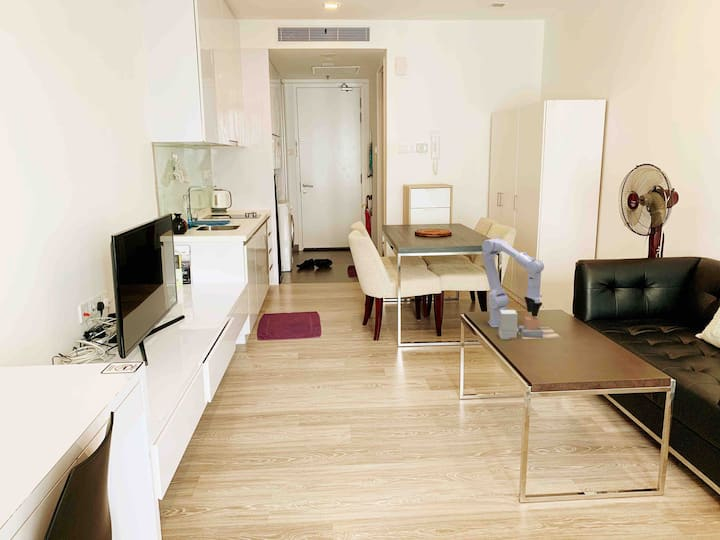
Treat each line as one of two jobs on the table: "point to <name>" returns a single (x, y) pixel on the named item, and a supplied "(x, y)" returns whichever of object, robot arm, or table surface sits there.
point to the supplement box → (508, 324)
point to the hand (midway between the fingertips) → (532, 314)
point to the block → (531, 323)
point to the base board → (546, 334)
